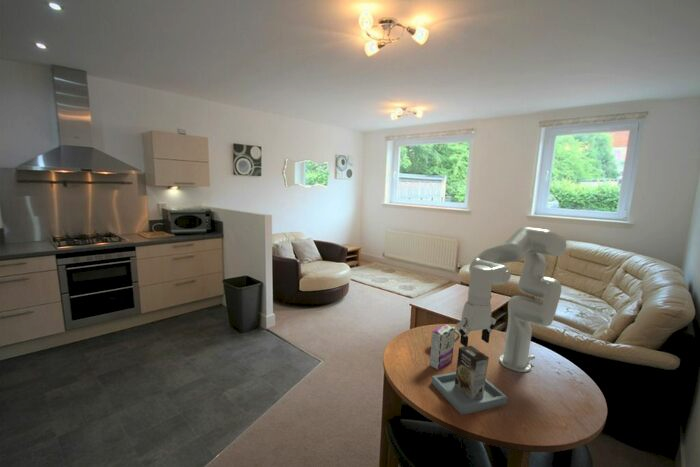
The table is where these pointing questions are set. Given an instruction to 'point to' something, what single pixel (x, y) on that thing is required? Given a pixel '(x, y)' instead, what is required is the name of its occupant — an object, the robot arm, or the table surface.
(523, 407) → the table surface
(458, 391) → the tray
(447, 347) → the candy bar box
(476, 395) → the coffee box
